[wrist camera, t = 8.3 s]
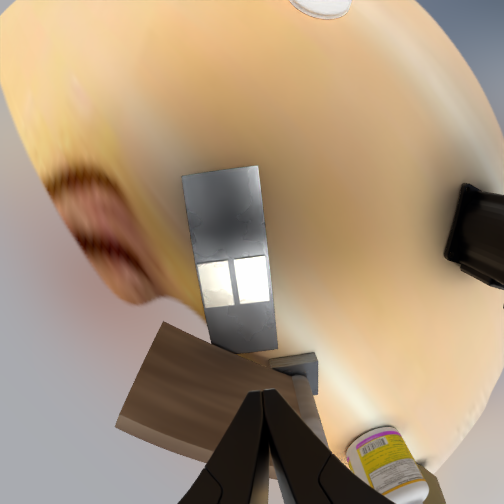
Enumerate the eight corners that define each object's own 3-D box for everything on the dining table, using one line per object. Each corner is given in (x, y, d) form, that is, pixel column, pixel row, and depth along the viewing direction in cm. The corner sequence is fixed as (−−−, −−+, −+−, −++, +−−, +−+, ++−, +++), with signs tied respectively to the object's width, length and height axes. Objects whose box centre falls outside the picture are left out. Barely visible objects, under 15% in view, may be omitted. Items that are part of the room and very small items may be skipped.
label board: (301, 161, 18) (306, 160, 17) (314, 385, 23) (318, 396, 21) (185, 176, 18) (180, 176, 17) (227, 396, 23) (226, 407, 21)
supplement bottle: (377, 458, 27) (408, 535, 14) (334, 459, 26) (360, 548, 14) (408, 424, 25) (453, 504, 13) (365, 423, 24) (407, 520, 12)
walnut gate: (165, 316, 19) (119, 412, 10) (313, 379, 21) (344, 474, 12) (155, 338, 19) (111, 433, 10) (299, 396, 21) (322, 491, 12)
